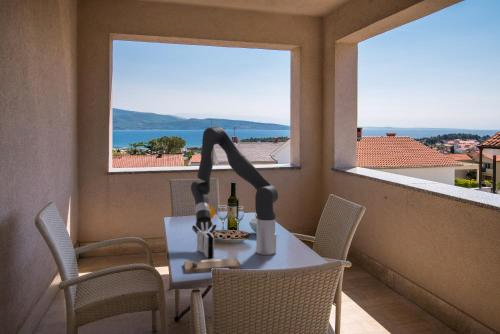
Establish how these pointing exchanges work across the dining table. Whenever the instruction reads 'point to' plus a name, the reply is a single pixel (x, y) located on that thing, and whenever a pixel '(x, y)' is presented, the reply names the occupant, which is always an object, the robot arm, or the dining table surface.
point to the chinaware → (253, 224)
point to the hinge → (205, 243)
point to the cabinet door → (211, 265)
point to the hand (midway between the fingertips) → (205, 242)
